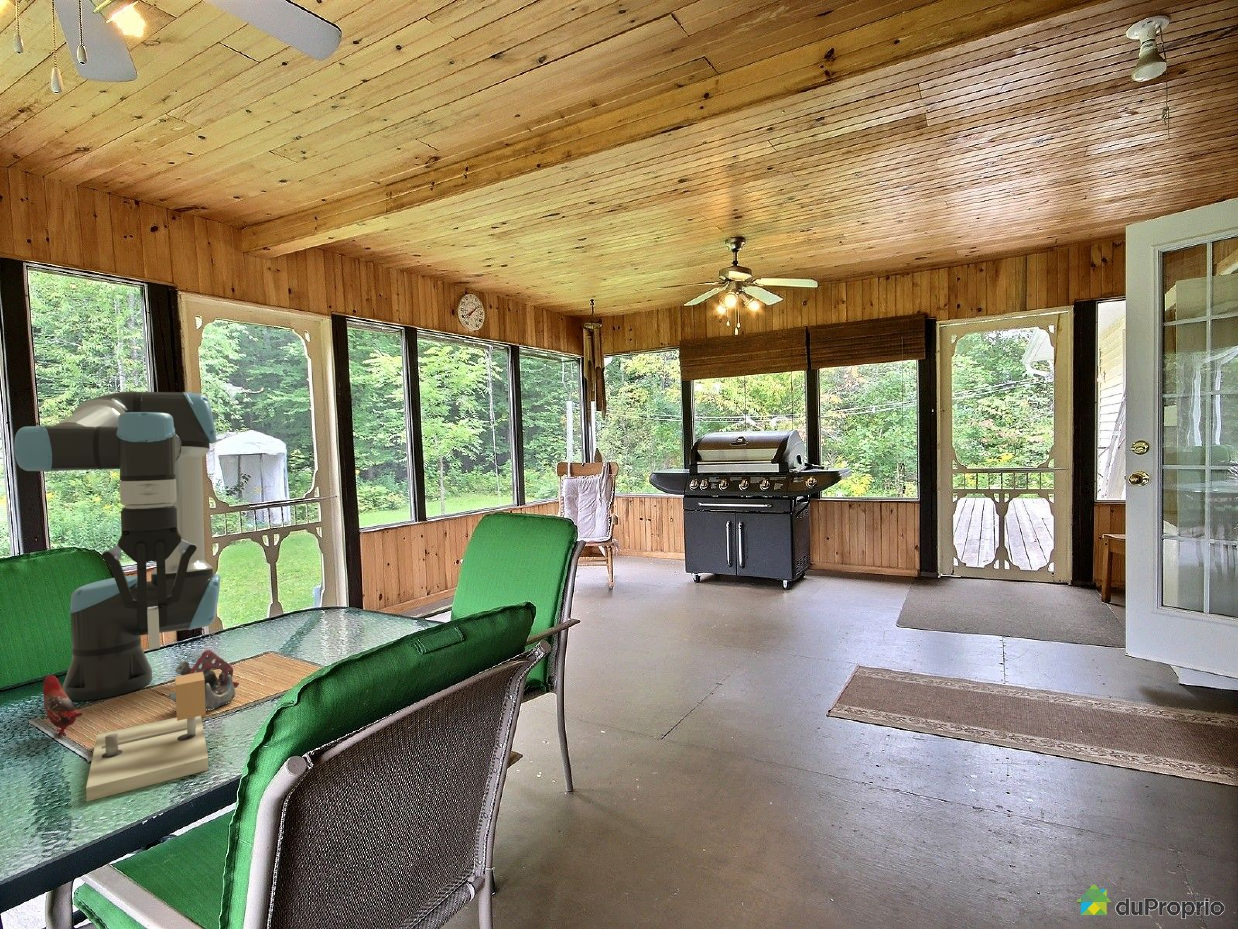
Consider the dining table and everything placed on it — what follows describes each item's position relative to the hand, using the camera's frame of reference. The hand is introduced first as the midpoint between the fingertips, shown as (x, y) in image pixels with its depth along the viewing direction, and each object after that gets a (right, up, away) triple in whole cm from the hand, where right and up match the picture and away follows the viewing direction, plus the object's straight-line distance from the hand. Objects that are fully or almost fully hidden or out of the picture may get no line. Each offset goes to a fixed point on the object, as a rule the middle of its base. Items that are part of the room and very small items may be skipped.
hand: (154, 646), depth 107 cm
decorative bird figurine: (-22, -19, +8) cm, 30 cm away
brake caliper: (-5, -18, +22) cm, 29 cm away
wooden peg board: (0, -18, 0) cm, 18 cm away
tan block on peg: (+4, -16, +3) cm, 16 cm away
